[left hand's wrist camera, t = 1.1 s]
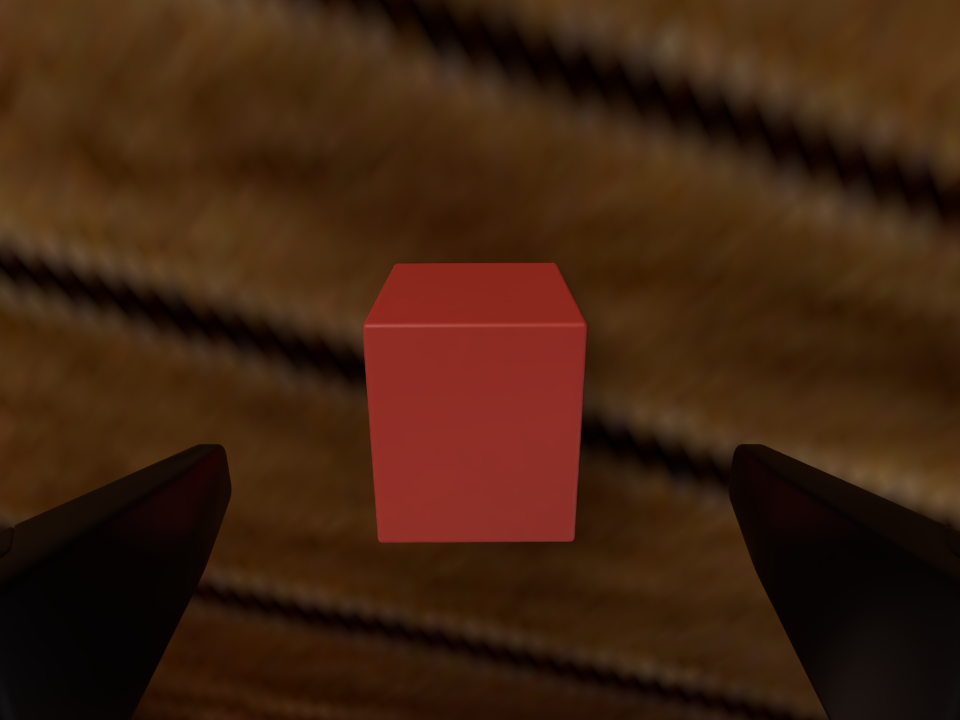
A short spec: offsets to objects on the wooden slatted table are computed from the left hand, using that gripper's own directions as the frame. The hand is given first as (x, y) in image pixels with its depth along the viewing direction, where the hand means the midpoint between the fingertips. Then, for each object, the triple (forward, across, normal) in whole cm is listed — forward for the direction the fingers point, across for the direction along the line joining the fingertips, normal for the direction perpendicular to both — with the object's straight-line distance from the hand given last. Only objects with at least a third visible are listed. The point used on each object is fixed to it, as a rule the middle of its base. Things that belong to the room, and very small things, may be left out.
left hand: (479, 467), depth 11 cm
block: (+6, 0, 0) cm, 6 cm away
